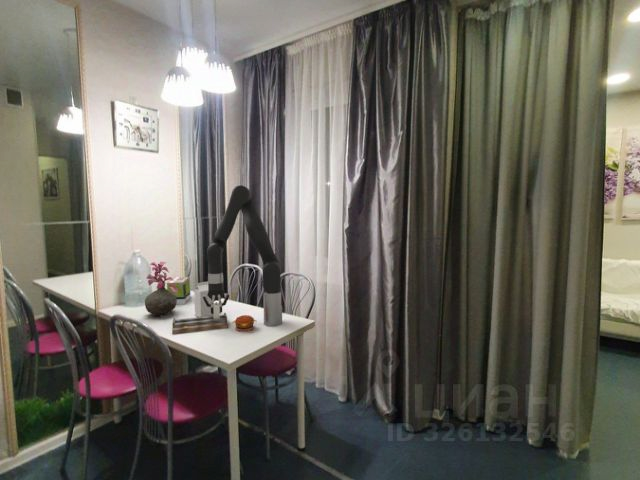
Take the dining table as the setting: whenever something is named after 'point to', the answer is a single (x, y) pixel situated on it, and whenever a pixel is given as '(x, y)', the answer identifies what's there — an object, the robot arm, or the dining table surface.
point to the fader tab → (216, 310)
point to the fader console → (198, 324)
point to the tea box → (181, 289)
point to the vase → (160, 293)
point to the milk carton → (201, 300)
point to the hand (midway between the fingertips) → (216, 313)
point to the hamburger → (244, 323)
